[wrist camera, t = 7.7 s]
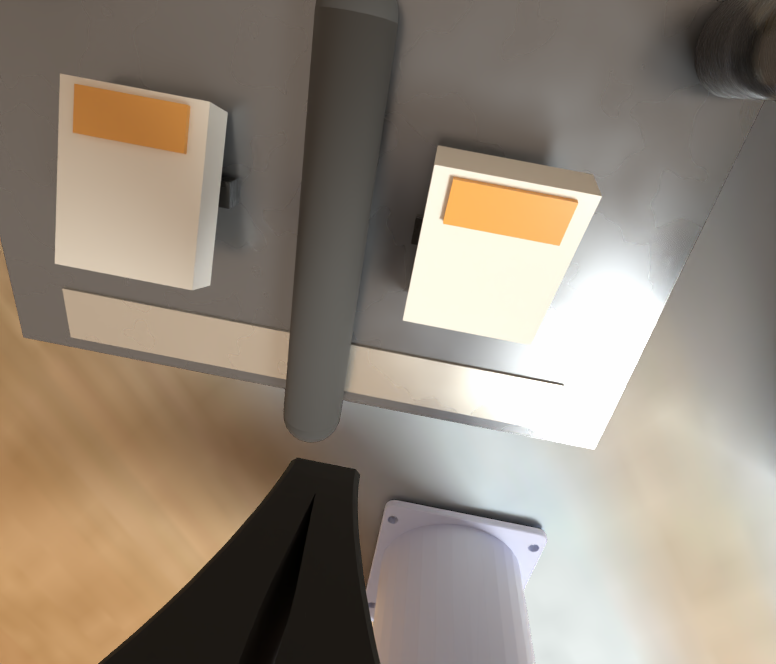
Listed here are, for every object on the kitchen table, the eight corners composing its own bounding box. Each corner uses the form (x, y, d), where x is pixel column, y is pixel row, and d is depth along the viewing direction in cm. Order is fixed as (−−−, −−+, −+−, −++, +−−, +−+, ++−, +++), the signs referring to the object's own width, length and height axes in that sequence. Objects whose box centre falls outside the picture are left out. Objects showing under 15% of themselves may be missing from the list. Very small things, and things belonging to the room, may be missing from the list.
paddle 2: (527, 319, 15) (530, 348, 14) (407, 296, 16) (401, 323, 15) (592, 174, 12) (603, 199, 11) (437, 144, 12) (433, 167, 11)
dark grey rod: (341, 423, 18) (330, 459, 16) (290, 413, 18) (274, 448, 17) (408, -18, 12) (402, -37, 10) (329, -33, 12) (309, -55, 10)
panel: (582, 410, 20) (632, 527, 15) (64, 309, 20) (-69, 388, 15) (762, 9, 13) (973, -40, 8) (-15, -133, 14) (-306, -271, 8)
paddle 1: (210, 285, 15) (189, 291, 13) (83, 260, 15) (50, 264, 13) (227, 112, 13) (207, 100, 12) (90, 86, 14) (55, 71, 12)
